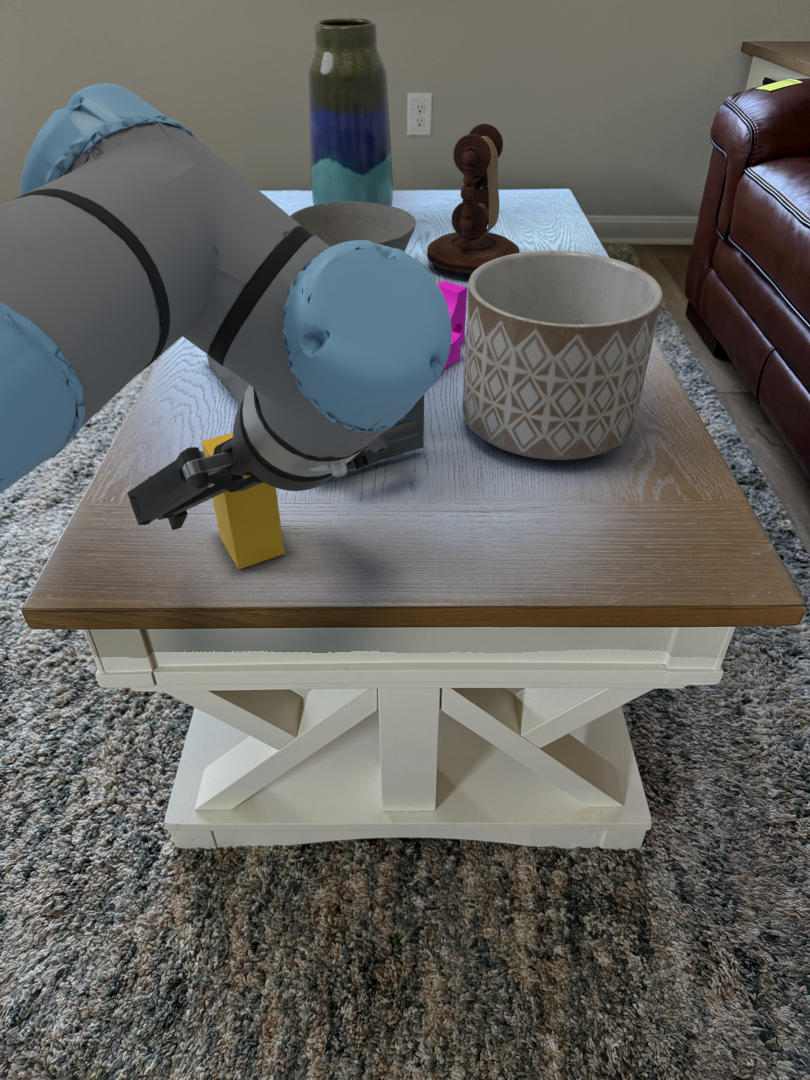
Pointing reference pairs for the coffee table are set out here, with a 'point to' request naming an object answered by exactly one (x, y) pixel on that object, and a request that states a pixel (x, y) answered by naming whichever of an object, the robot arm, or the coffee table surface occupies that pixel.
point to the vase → (349, 115)
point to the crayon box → (247, 519)
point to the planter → (557, 352)
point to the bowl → (357, 223)
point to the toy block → (455, 317)
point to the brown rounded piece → (474, 207)
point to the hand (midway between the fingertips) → (249, 489)
